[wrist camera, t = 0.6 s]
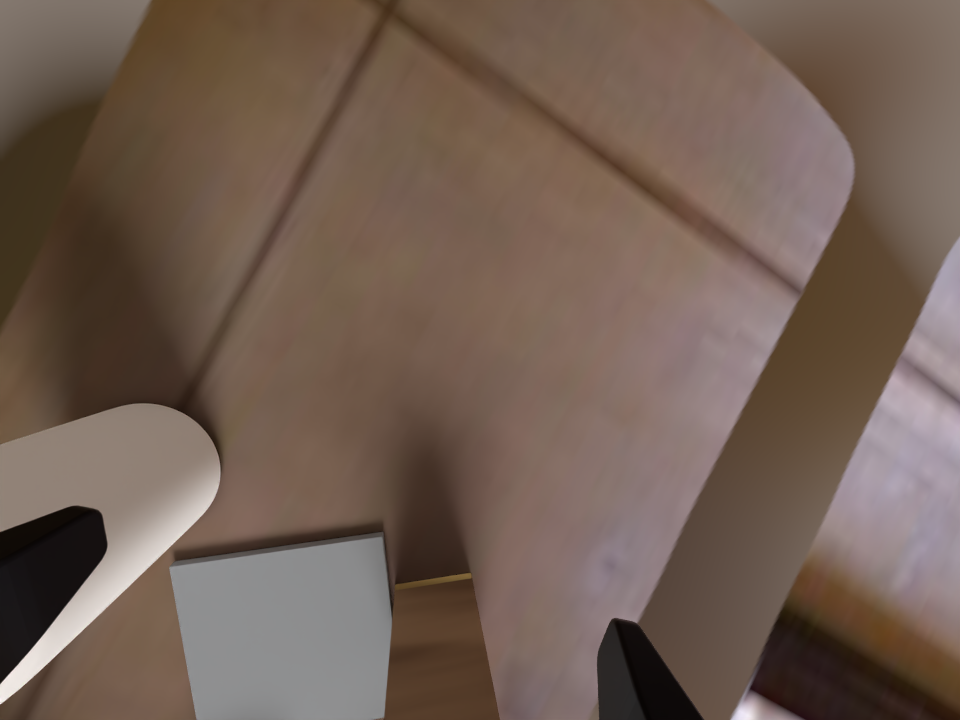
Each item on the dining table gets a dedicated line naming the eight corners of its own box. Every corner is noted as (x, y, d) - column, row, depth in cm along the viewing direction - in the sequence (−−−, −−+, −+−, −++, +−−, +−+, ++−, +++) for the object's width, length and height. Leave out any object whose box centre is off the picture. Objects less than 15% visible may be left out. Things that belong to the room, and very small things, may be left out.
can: (48, 491, 21) (-434, 728, 9) (122, 374, 21) (-266, 460, 9) (179, 555, 22) (-97, 842, 10) (251, 445, 22) (55, 606, 10)
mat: (403, 705, 24) (402, 713, 24) (206, 742, 23) (202, 752, 23) (383, 531, 23) (382, 536, 23) (174, 561, 22) (169, 567, 22)
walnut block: (476, 640, 25) (509, 826, 16) (403, 653, 24) (394, 853, 15) (470, 572, 24) (501, 725, 15) (395, 584, 24) (381, 749, 15)
